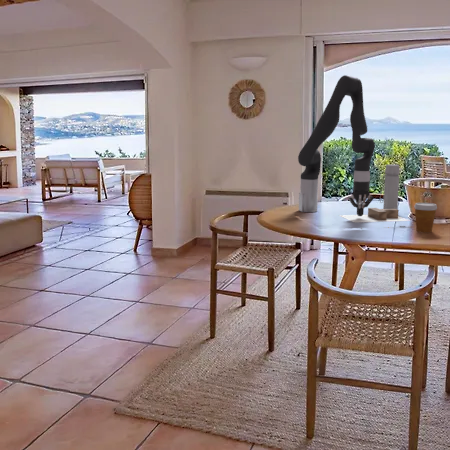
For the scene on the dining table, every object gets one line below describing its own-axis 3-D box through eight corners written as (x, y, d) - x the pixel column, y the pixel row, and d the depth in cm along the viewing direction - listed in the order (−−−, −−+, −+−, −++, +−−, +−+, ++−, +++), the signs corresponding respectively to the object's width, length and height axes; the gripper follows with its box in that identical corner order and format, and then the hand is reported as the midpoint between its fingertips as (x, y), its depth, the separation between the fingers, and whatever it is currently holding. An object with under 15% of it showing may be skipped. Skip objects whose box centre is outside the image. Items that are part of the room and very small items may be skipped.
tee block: (378, 220, 260) (378, 211, 259) (367, 215, 272) (368, 208, 271) (402, 219, 262) (402, 211, 261) (390, 215, 274) (391, 207, 273)
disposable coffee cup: (408, 229, 244) (410, 202, 242) (429, 228, 245) (431, 202, 243) (418, 233, 235) (419, 205, 233) (439, 233, 236) (441, 205, 233)
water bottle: (397, 211, 292) (400, 164, 287) (397, 214, 285) (399, 165, 280) (379, 210, 295) (382, 164, 290) (378, 213, 288) (381, 165, 283)
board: (354, 225, 254) (354, 222, 254) (338, 217, 274) (338, 215, 273) (410, 223, 259) (410, 220, 259) (390, 216, 278) (391, 213, 278)
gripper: (371, 179, 267) (369, 214, 270) (345, 179, 264) (343, 215, 267) (378, 180, 259) (376, 216, 263) (351, 181, 257) (350, 217, 260)
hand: (359, 215), depth 265 cm, fingers closed
